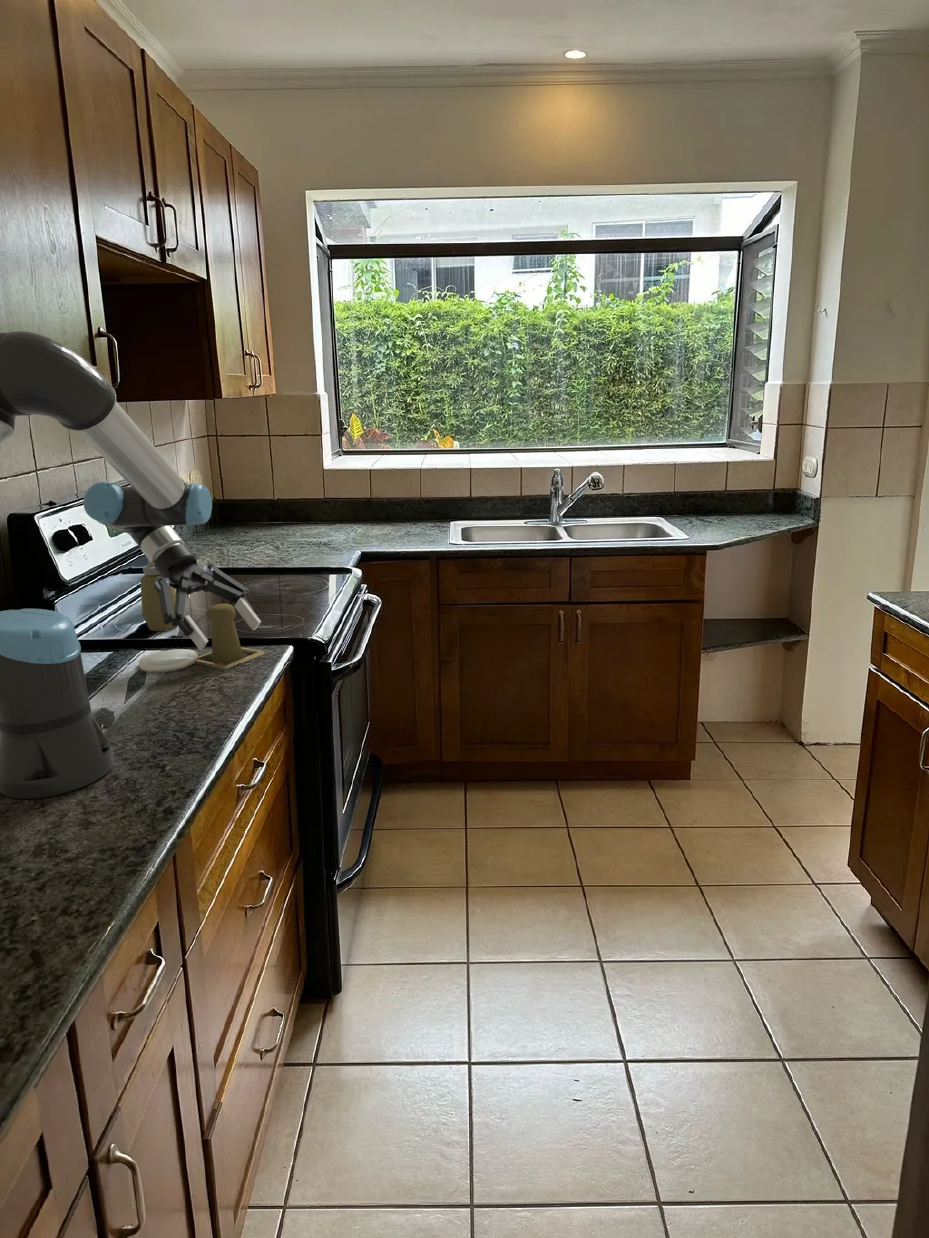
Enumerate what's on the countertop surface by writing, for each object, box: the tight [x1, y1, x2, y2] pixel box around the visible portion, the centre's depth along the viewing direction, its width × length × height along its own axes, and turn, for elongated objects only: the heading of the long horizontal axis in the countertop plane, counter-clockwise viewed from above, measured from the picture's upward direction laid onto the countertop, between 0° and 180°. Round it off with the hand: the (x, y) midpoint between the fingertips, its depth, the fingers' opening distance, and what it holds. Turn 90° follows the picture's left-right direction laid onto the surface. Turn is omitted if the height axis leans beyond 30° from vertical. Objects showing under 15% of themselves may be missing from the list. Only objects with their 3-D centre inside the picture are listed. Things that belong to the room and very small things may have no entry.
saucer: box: [138, 648, 199, 674], centre depth 164 cm, size 11×11×1 cm
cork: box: [207, 603, 244, 664], centre depth 164 cm, size 6×6×11 cm
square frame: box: [194, 646, 265, 670], centre depth 165 cm, size 10×10×1 cm
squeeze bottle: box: [140, 558, 176, 632], centre depth 186 cm, size 8×8×18 cm
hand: (231, 635), depth 163 cm, fingers open, 13 cm apart
